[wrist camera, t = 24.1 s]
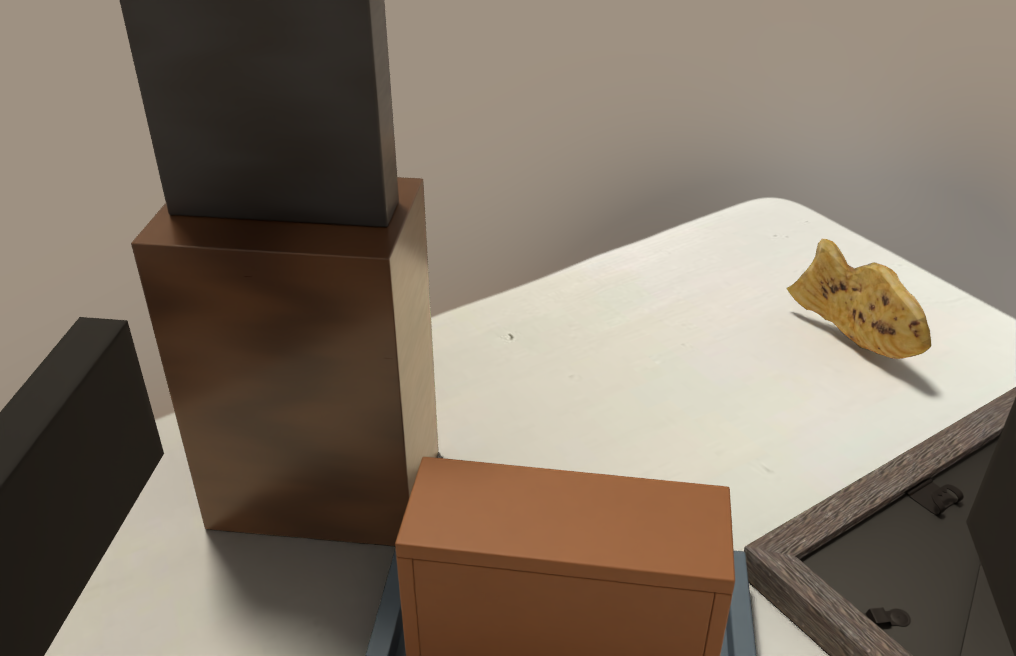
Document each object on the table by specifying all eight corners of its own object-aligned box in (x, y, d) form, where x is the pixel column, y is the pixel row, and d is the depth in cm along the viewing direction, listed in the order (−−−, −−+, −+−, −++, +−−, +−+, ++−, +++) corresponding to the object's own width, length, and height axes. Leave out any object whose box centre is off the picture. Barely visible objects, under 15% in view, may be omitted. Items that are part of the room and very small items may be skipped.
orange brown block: (411, 715, 33) (394, 543, 28) (434, 625, 36) (422, 455, 31) (700, 754, 32) (735, 581, 27) (698, 657, 35) (729, 486, 30)
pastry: (930, 378, 49) (956, 296, 47) (912, 389, 49) (937, 306, 46) (796, 300, 55) (811, 223, 52) (777, 309, 55) (793, 232, 52)
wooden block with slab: (204, 529, 41) (29, -144, 26) (251, 435, 46) (126, -177, 31) (413, 548, 40) (356, -137, 25) (438, 450, 45) (403, -172, 30)
